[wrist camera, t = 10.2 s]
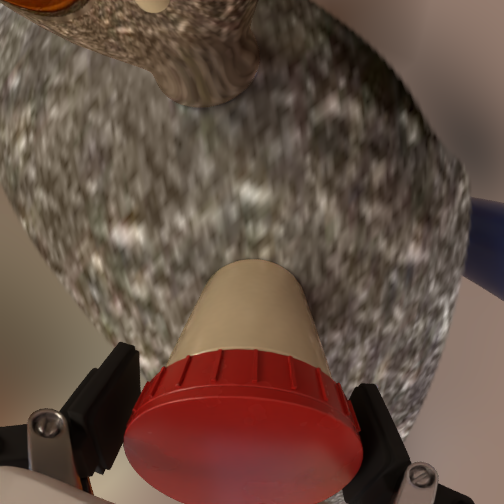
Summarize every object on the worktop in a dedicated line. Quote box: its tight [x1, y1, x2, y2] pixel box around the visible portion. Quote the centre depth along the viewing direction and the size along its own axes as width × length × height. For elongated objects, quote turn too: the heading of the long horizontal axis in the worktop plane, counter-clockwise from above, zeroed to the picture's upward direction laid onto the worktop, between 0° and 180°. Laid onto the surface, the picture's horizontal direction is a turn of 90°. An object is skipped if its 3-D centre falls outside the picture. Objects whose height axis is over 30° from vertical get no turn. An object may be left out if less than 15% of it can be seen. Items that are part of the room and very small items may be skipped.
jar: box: [165, 259, 333, 379], centre depth 12 cm, size 6×6×11 cm
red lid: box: [123, 349, 363, 504], centre depth 7 cm, size 7×7×2 cm
